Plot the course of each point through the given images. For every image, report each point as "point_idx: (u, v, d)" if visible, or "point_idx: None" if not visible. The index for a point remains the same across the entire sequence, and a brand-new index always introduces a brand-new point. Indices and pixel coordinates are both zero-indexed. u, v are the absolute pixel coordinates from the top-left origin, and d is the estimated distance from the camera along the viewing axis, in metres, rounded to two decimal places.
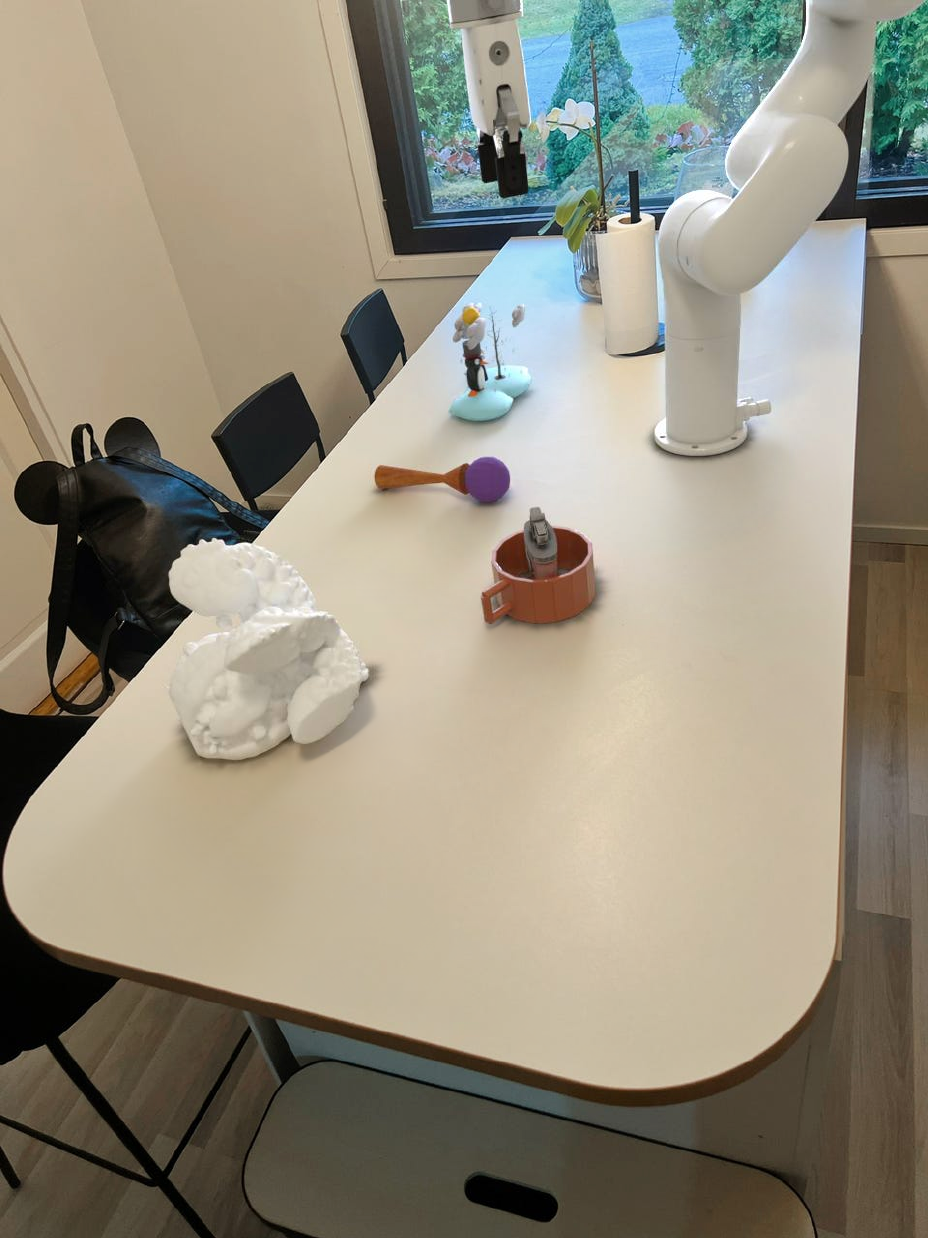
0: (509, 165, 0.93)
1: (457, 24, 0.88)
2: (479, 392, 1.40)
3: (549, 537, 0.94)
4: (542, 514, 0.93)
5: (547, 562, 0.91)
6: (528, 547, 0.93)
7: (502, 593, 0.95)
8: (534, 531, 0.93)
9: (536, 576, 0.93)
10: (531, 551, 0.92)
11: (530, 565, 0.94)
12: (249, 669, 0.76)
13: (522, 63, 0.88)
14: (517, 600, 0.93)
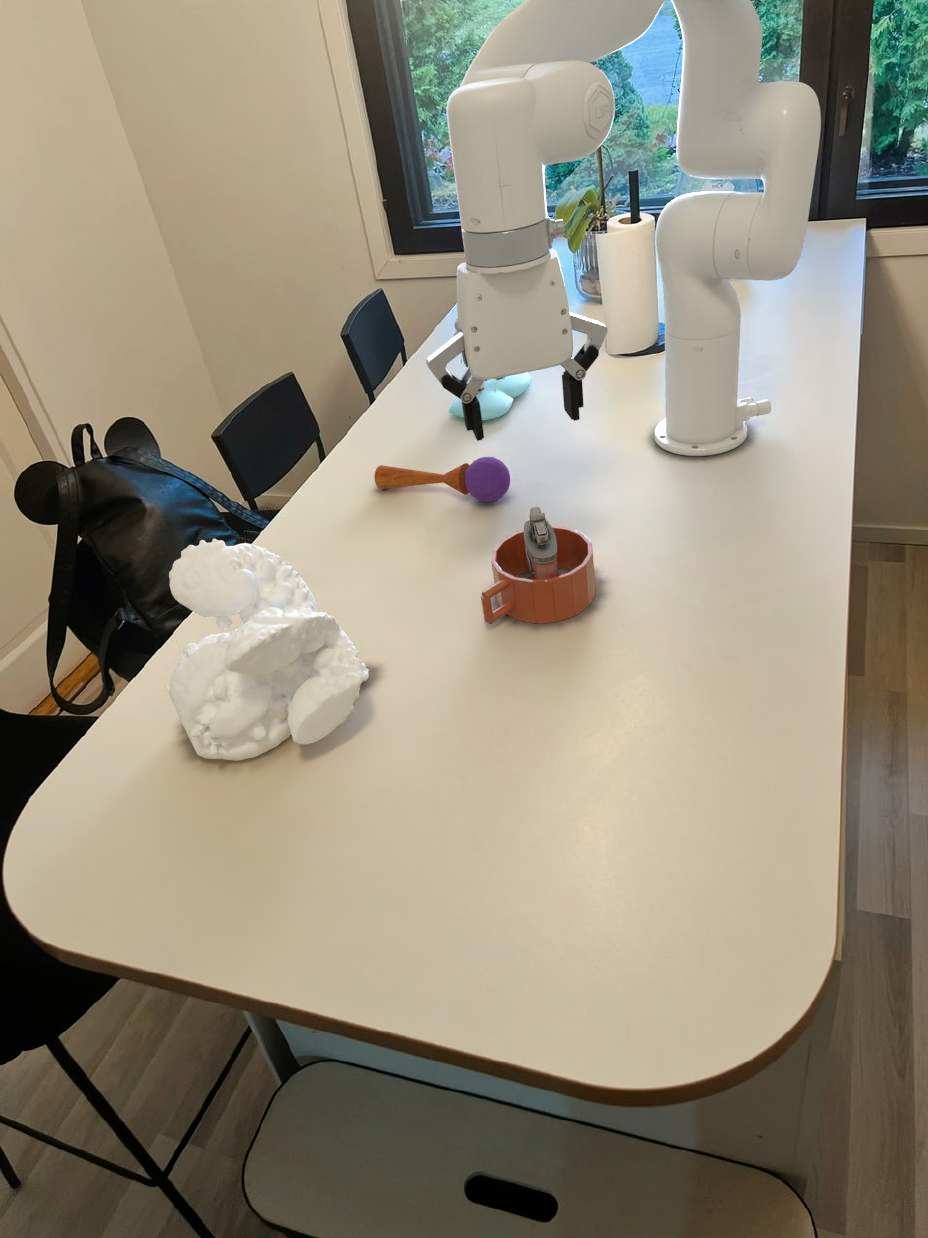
0: None
1: (535, 261, 0.75)
2: (479, 392, 1.40)
3: (549, 537, 0.94)
4: (542, 514, 0.93)
5: (547, 562, 0.91)
6: (528, 547, 0.93)
7: (502, 593, 0.95)
8: (534, 531, 0.93)
9: (536, 576, 0.93)
10: (531, 551, 0.92)
11: (530, 565, 0.94)
12: (250, 670, 0.76)
13: None
14: (517, 600, 0.93)
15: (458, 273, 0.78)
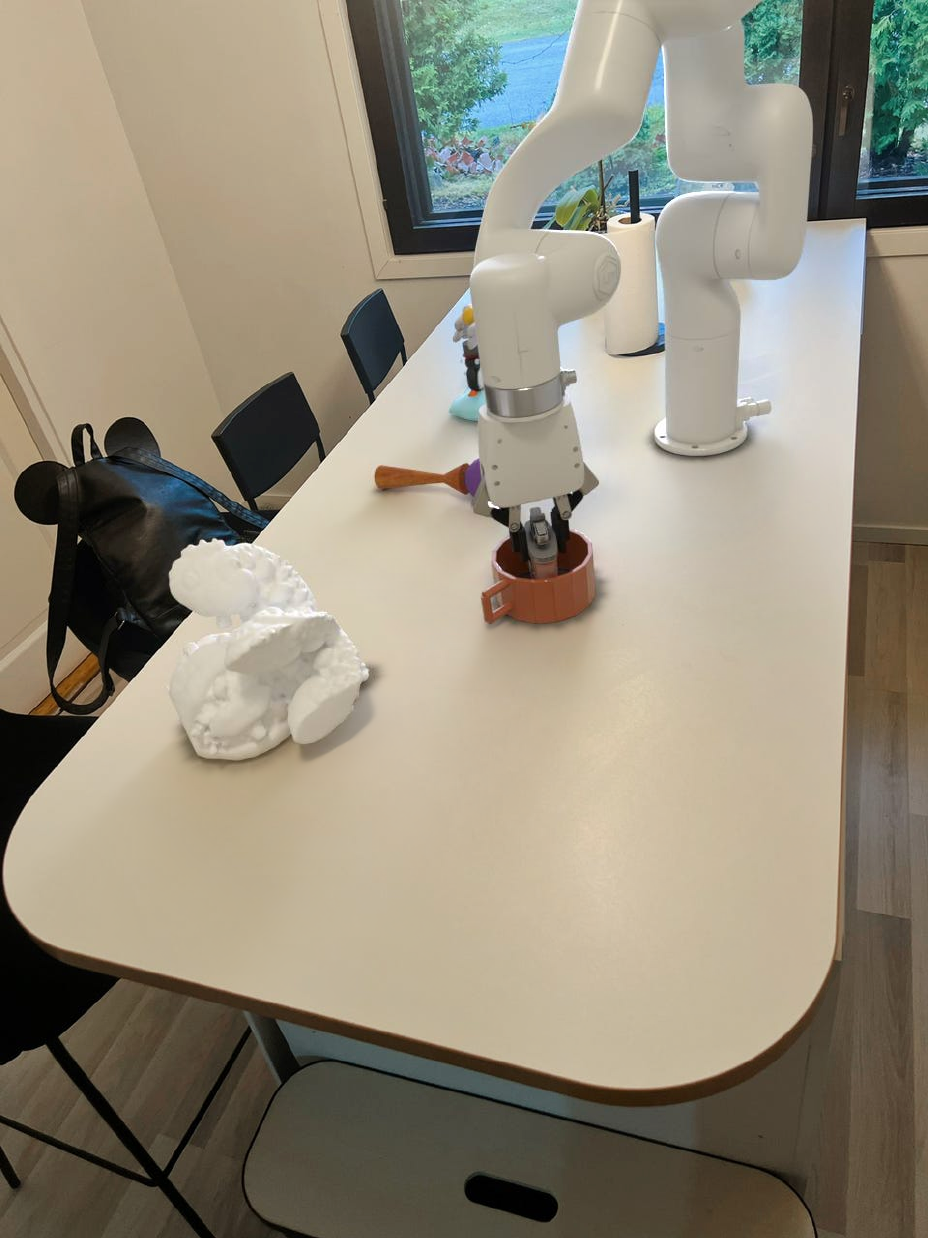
0: None
1: (550, 411, 0.82)
2: (479, 392, 1.40)
3: (549, 537, 0.94)
4: (542, 514, 0.93)
5: (547, 562, 0.91)
6: (528, 547, 0.93)
7: (502, 593, 0.95)
8: (534, 531, 0.93)
9: (536, 576, 0.93)
10: (531, 551, 0.92)
11: (530, 565, 0.94)
12: (249, 670, 0.76)
13: None
14: (517, 600, 0.93)
15: (479, 417, 0.85)
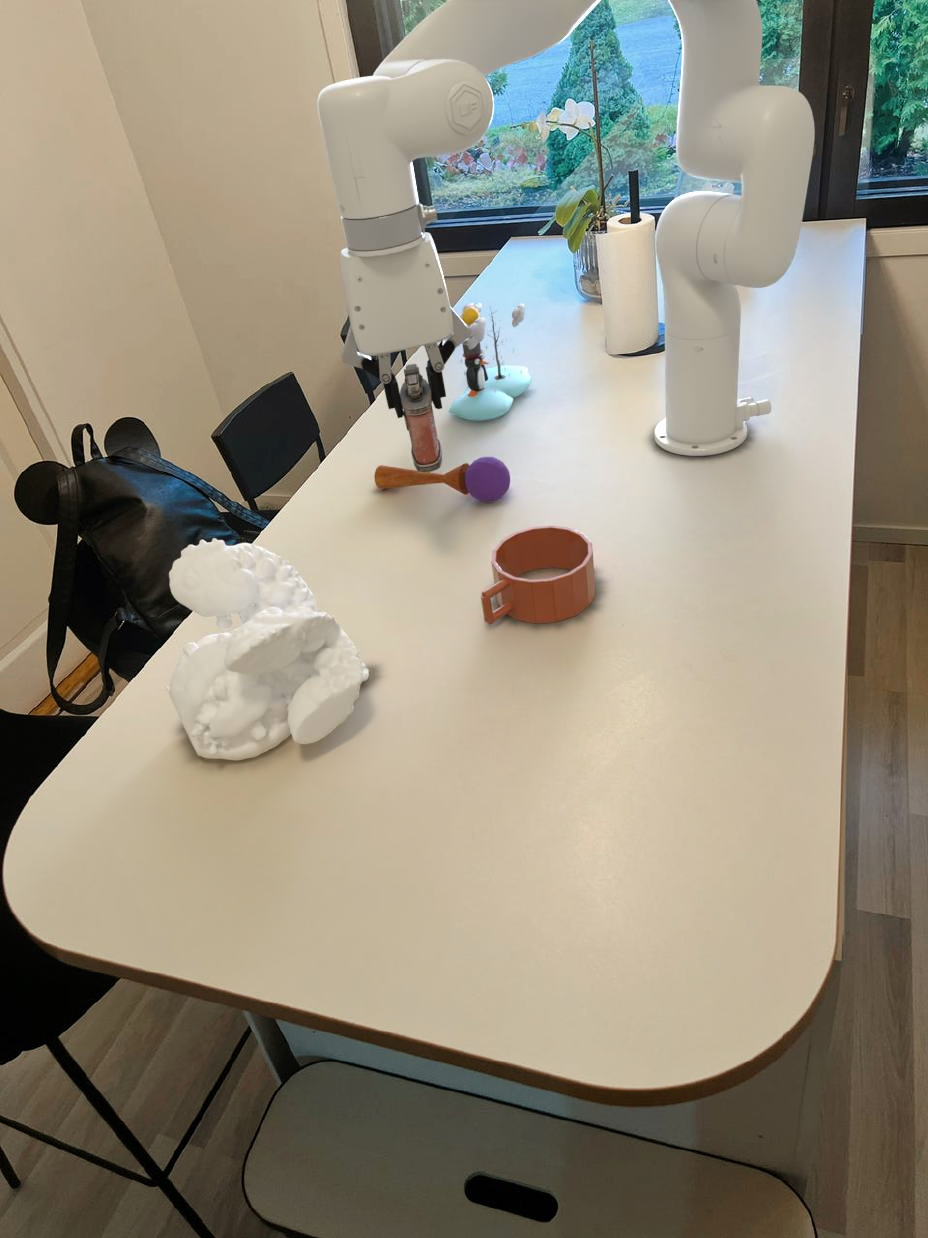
0: None
1: (407, 244, 0.81)
2: (479, 392, 1.40)
3: (424, 392, 0.93)
4: (416, 368, 0.92)
5: (419, 414, 0.90)
6: (402, 401, 0.92)
7: (502, 593, 0.95)
8: None
9: (411, 431, 0.92)
10: (404, 404, 0.91)
11: (406, 421, 0.93)
12: (249, 670, 0.76)
13: None
14: (517, 600, 0.93)
15: (341, 257, 0.84)
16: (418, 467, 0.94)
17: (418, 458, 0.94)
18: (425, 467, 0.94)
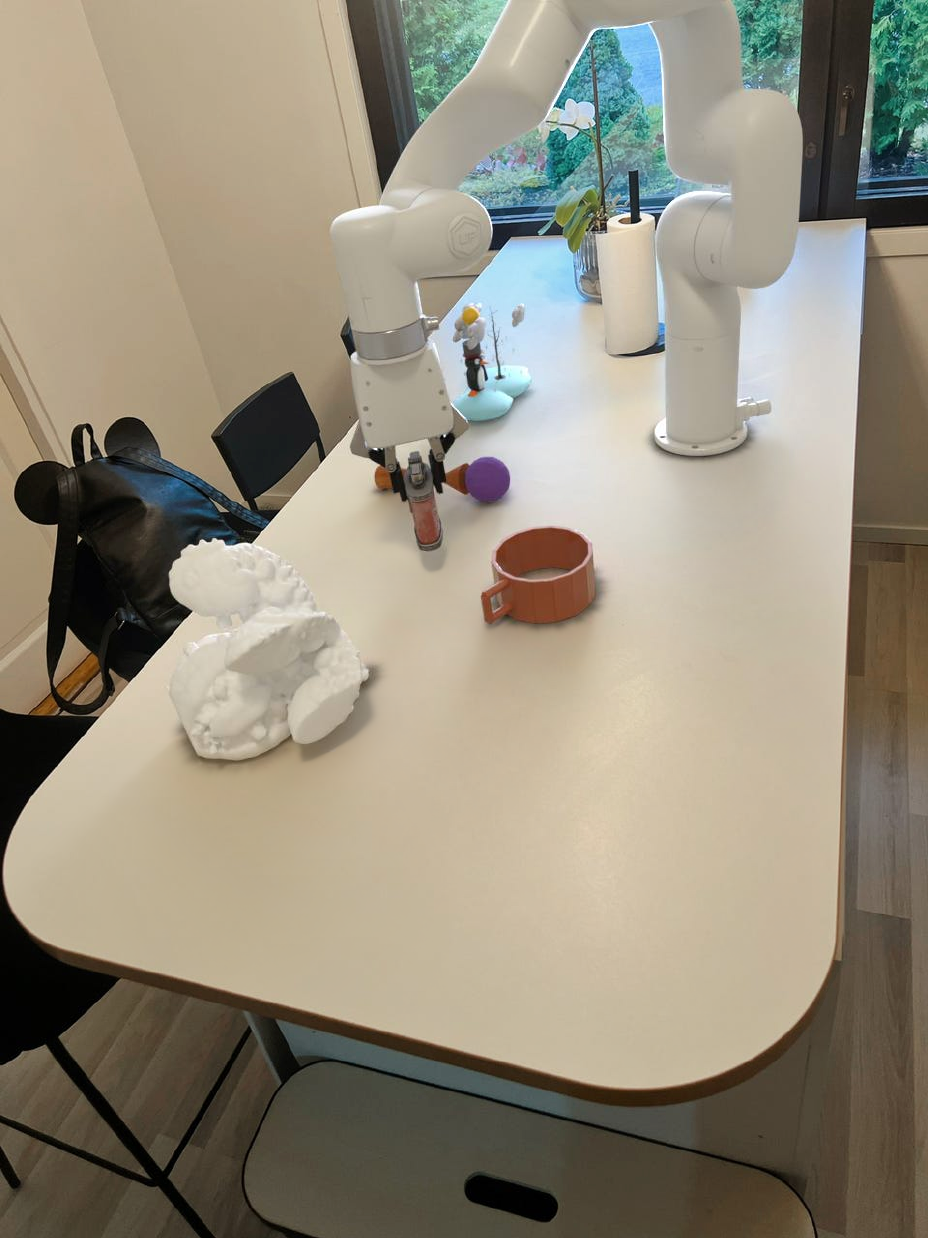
0: None
1: (411, 354, 0.89)
2: (479, 392, 1.40)
3: (426, 478, 1.00)
4: (419, 456, 0.99)
5: (422, 500, 0.98)
6: (406, 487, 0.99)
7: (502, 593, 0.95)
8: None
9: (414, 515, 1.00)
10: (408, 490, 0.99)
11: (409, 505, 1.01)
12: (249, 670, 0.76)
13: None
14: (517, 600, 0.93)
15: (351, 361, 0.92)
16: (421, 546, 1.02)
17: (420, 538, 1.01)
18: (427, 547, 1.01)
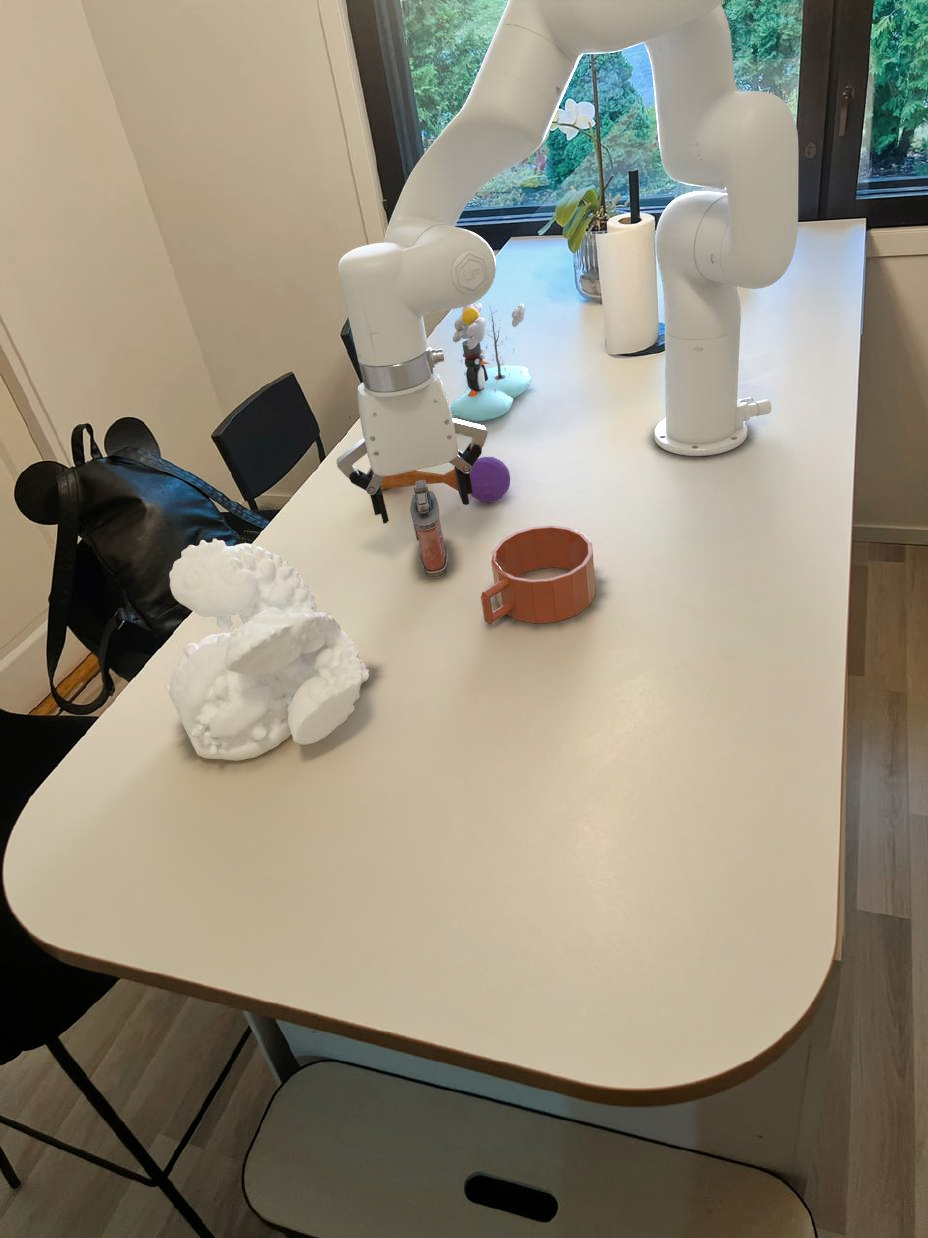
0: None
1: (417, 386, 0.91)
2: (479, 392, 1.40)
3: (432, 507, 1.03)
4: (425, 486, 1.02)
5: (428, 529, 1.00)
6: (412, 516, 1.02)
7: (502, 593, 0.95)
8: None
9: (420, 543, 1.02)
10: (414, 519, 1.01)
11: (416, 533, 1.03)
12: (250, 670, 0.76)
13: None
14: (517, 600, 0.93)
15: (358, 392, 0.94)
16: (427, 573, 1.04)
17: (426, 565, 1.04)
18: (433, 573, 1.04)
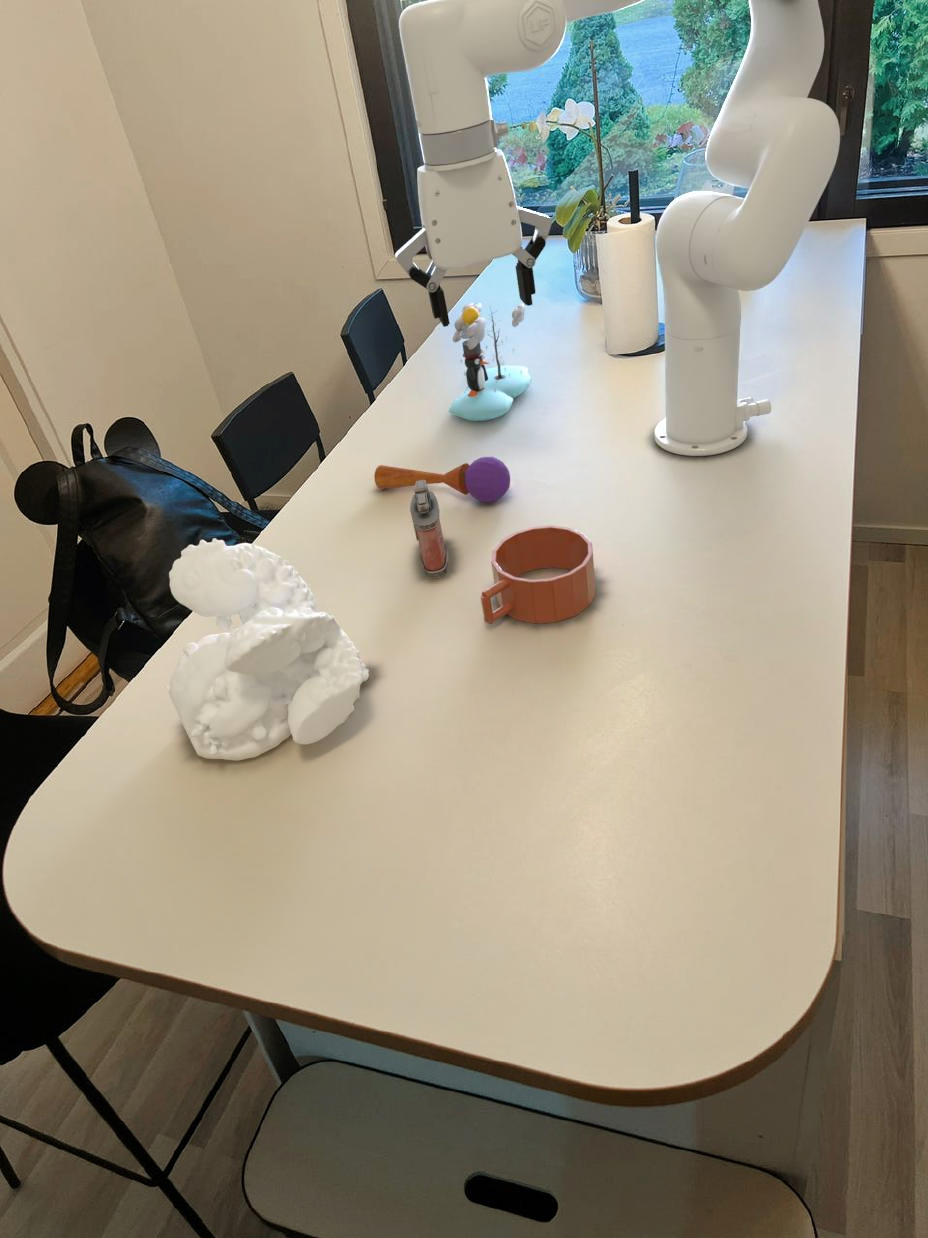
0: None
1: (482, 157, 0.87)
2: (479, 392, 1.40)
3: (432, 507, 1.03)
4: (425, 486, 1.02)
5: (428, 529, 1.00)
6: (412, 516, 1.02)
7: (502, 593, 0.95)
8: None
9: (420, 543, 1.02)
10: (414, 519, 1.01)
11: (415, 533, 1.03)
12: (250, 670, 0.76)
13: None
14: (517, 600, 0.93)
15: (418, 174, 0.90)
16: (427, 573, 1.04)
17: (426, 565, 1.04)
18: (433, 573, 1.04)
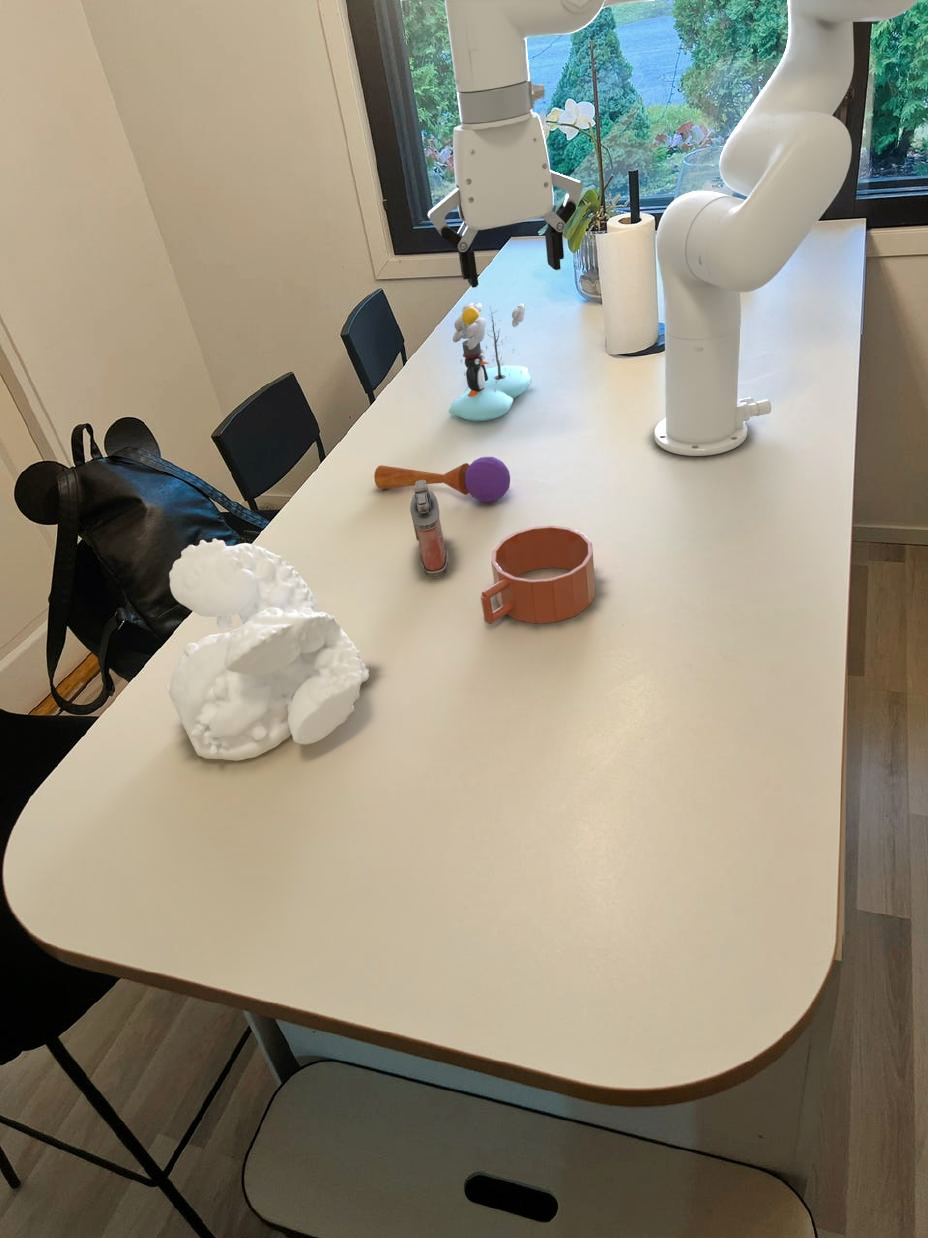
0: None
1: (519, 117, 0.88)
2: (479, 392, 1.40)
3: (432, 507, 1.03)
4: (425, 486, 1.02)
5: (428, 529, 1.00)
6: (412, 516, 1.02)
7: (502, 593, 0.95)
8: None
9: (420, 543, 1.02)
10: (414, 519, 1.01)
11: (415, 533, 1.03)
12: (250, 670, 0.76)
13: None
14: (517, 600, 0.93)
15: (454, 133, 0.91)
16: (427, 573, 1.04)
17: (426, 565, 1.04)
18: (433, 573, 1.04)
